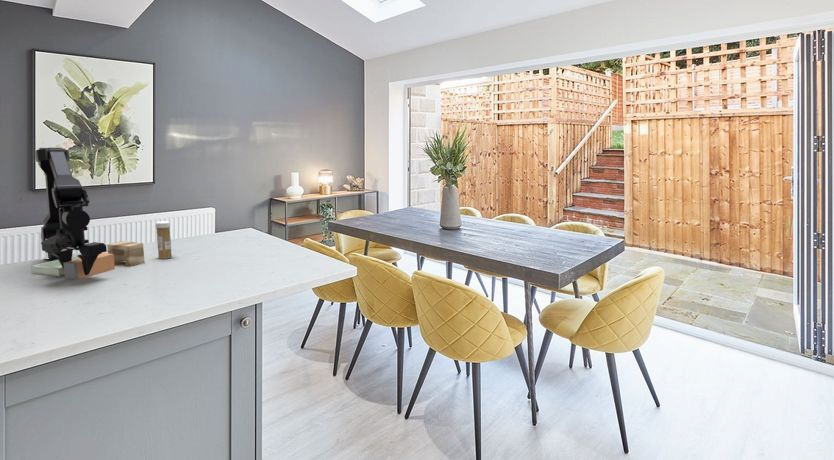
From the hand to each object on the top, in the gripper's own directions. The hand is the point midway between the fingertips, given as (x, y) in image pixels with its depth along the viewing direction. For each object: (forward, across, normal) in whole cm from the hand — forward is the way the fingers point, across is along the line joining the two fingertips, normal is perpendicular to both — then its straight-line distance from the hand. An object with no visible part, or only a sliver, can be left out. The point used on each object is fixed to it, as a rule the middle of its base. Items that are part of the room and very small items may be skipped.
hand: (77, 273), depth 144 cm
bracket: (+1, 0, +18) cm, 19 cm away
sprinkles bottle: (+1, +6, +30) cm, 30 cm away
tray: (+1, -11, +10) cm, 15 cm away
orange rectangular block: (+1, 0, +5) cm, 5 cm away
